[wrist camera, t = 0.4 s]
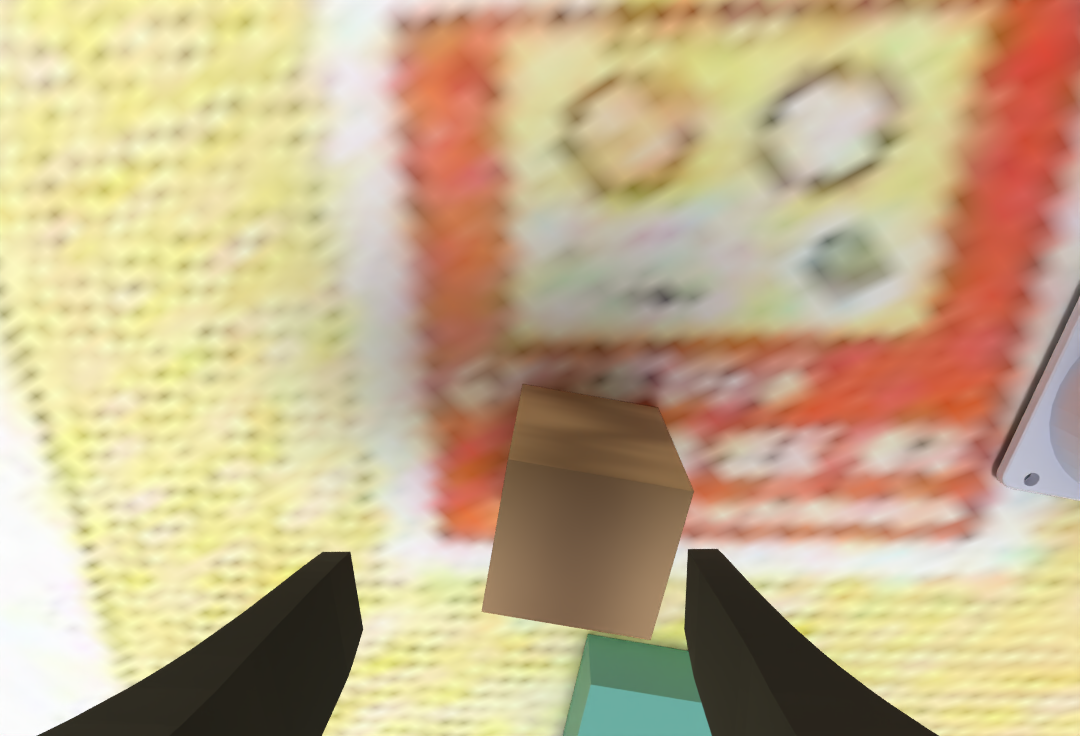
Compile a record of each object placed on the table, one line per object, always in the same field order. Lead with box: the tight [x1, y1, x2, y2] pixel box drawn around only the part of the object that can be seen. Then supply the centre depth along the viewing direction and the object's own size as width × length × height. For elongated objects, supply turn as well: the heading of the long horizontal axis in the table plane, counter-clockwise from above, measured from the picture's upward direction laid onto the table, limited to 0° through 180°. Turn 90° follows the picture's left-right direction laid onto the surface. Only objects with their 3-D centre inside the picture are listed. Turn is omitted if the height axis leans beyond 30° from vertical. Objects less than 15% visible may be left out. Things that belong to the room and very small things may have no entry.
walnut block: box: [482, 384, 694, 640], centre depth 19 cm, size 5×5×6 cm
